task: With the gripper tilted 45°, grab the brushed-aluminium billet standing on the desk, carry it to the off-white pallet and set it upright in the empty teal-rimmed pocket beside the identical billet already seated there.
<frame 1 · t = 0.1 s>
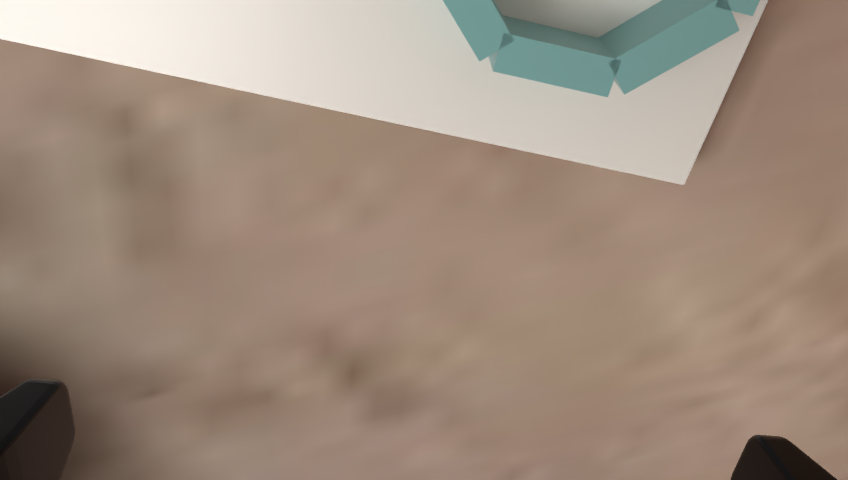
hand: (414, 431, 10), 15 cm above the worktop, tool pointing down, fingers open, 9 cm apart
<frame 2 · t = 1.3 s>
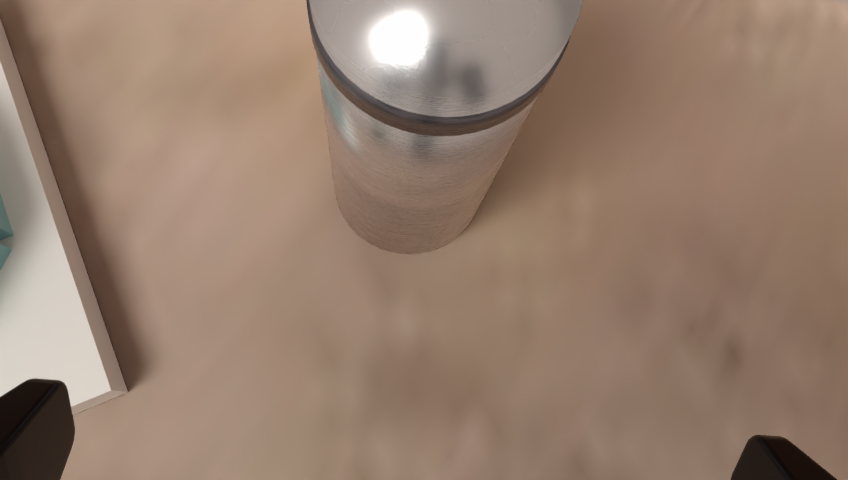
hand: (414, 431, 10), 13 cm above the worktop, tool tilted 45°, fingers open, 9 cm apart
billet: (408, 182, 24), on the worktop
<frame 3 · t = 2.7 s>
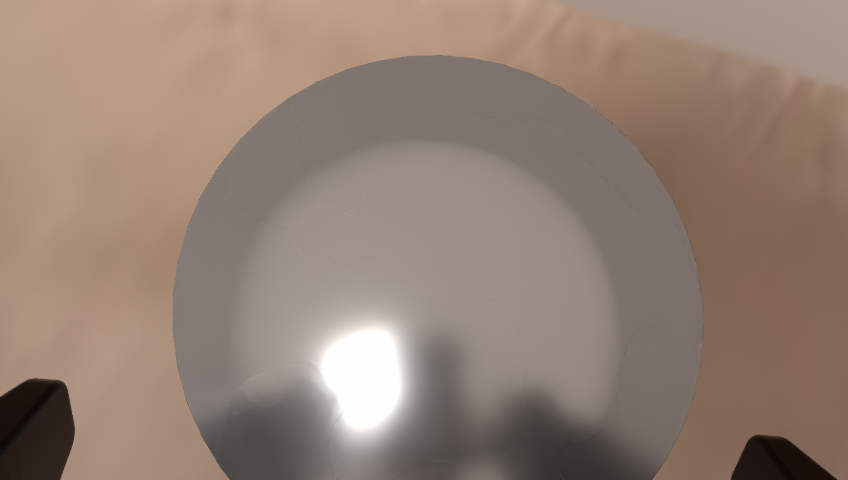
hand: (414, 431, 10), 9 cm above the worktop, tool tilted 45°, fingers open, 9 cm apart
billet: (394, 379, 18), on the worktop
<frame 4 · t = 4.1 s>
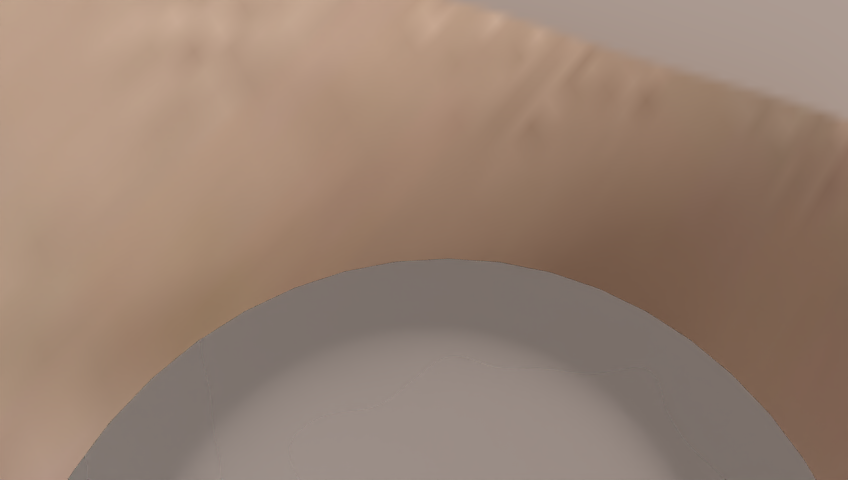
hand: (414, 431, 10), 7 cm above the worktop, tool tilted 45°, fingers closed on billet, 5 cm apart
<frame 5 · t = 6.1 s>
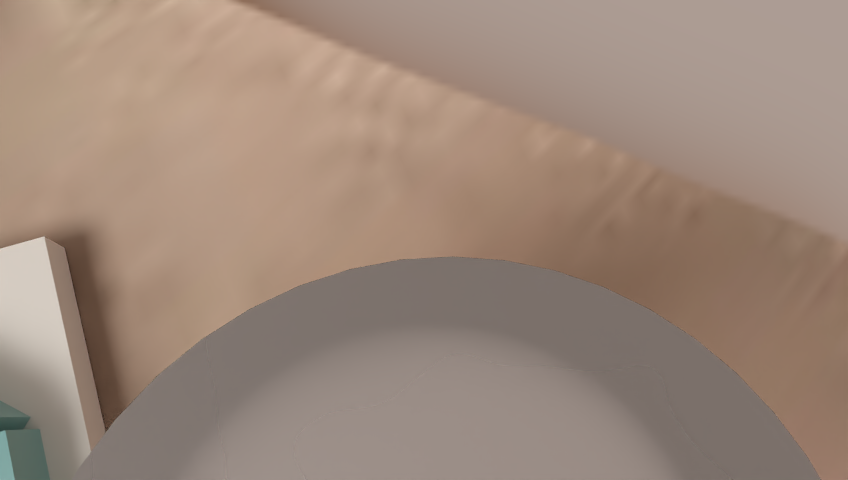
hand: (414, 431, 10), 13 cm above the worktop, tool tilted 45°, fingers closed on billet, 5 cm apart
when the fingers open (9 cm above the worktop, at t = 8.4 s): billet stays where it is, resting on pallet.
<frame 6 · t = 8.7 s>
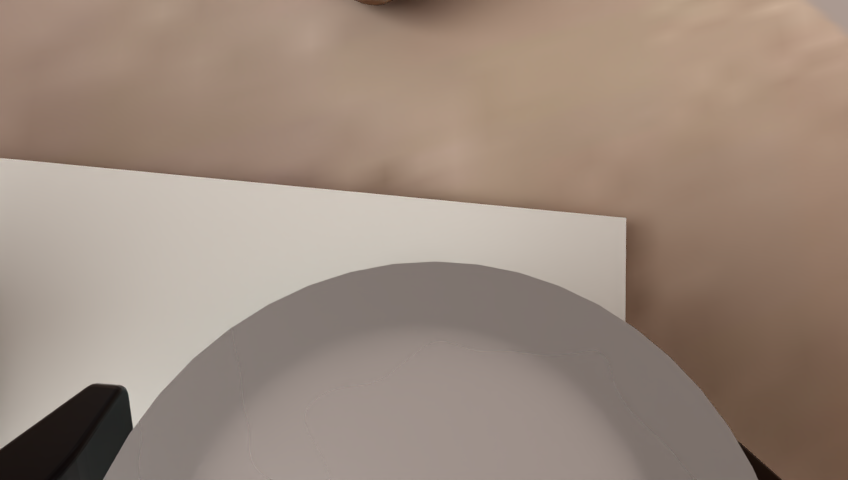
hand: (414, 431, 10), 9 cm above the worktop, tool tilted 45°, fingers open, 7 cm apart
pallet: (98, 462, 18), on the worktop
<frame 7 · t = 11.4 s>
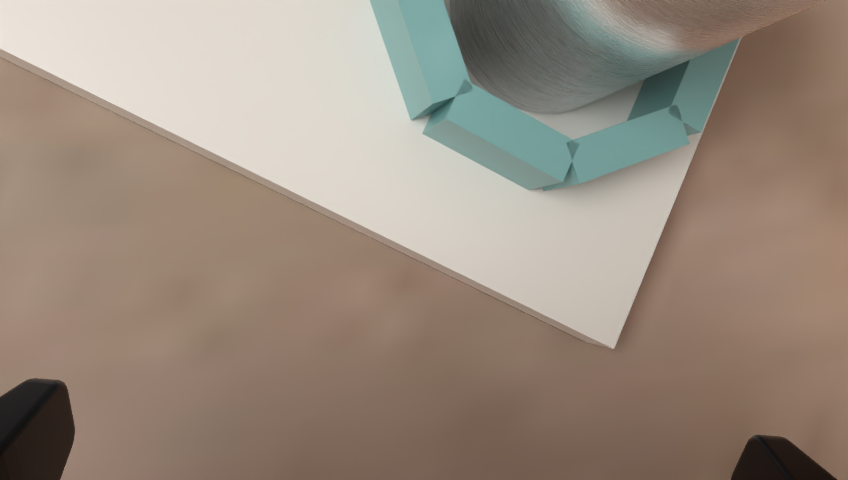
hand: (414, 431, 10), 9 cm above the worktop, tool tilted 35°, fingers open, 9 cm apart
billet: (542, 17, 19), point 2 cm above the worktop, touching pallet
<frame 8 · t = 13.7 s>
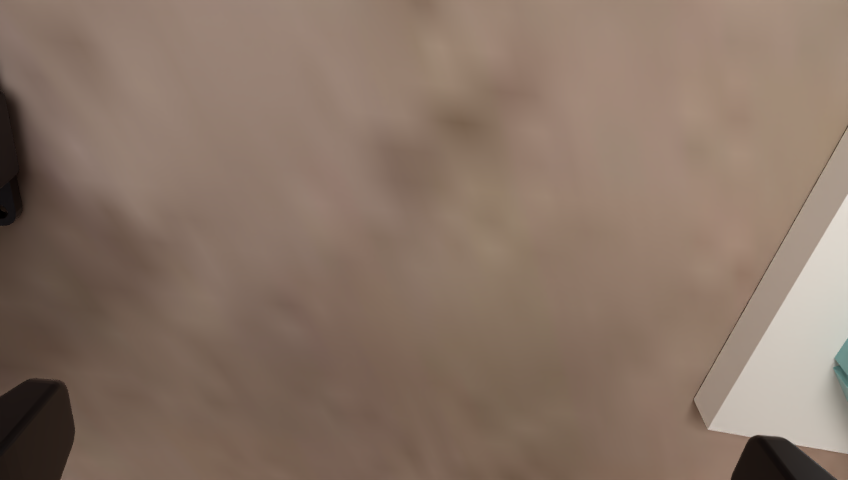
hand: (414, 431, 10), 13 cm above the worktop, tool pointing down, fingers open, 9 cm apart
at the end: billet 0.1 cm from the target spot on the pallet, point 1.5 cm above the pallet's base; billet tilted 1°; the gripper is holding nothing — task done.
